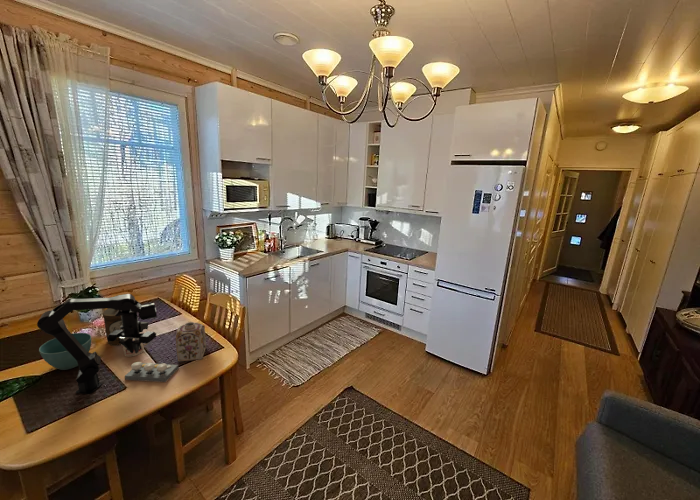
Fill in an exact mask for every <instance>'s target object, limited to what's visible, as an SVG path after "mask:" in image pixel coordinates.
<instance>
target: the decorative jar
mask: <svg viewBox="0 0 700 500" xmlns="http://www.w3.org/2000/svg"><path fill="white" fill-rule="evenodd" d="M206 341H207V338H206V329H205V325H203V324H202V323H199V322H193V321H190V322H189V321H188V322H186V323H184V324H183V325H180V326H179V327H178V328H177V330H176V334H175V348H176V356H177V362H179V363H180V362H188V361H197V360H203V357H204V354H205V351H206V349H207V342H206Z"/></svg>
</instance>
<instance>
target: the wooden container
mask: <svg viewBox="0 0 700 500" xmlns="http://www.w3.org/2000/svg"><path fill="white" fill-rule="evenodd" d="M117 311H118V310H115V309H109V308H106V309H105V310H104V311H103V312H102V316H103V321H104V329H105V336H106V342H107V344H108V345H110V346H115V347H116V346H123V345H122V344H121V343H119V341H120V339H119V337H116V340H115V341H108V335H109V334H111V333H112V332H114V331H115V330H123V329H121V328H120V327H121V326H123V325H122V319H121V316H115V314H116V312H117Z"/></svg>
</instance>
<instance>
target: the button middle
mask: <svg viewBox="0 0 700 500" xmlns="http://www.w3.org/2000/svg"><path fill="white" fill-rule="evenodd" d="M146 363H147V364H145V365H144V370H145V371H148V373H151V372H152V370H153V369H154V368H155V366H154V364H155V363H154V362H146Z"/></svg>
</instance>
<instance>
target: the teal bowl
mask: <svg viewBox="0 0 700 500" xmlns="http://www.w3.org/2000/svg"><path fill="white" fill-rule="evenodd" d="M71 334H72V335H73V336H74V337H75V338H76V339H77V340H78V342H79V343H80V344H81V345H82V346H83V347H84V348H85V349H86V351H87V352H89V353H90V351H91V346H92V335H91V334H90V333H87V332H74V333H71ZM38 352H39V354H40V356H41V357H42V359H43V361H45V362H46V363H47V364H48V365H50V366H51V367H52V368H55V369H58V370H62V371H63V370H64V371H65V370H66V371H67V370H72V369H73V368H76V367H79V366H78V363H77V361H76V359H75V358H74V357H73V356H72V355H71V354H70V353H69V352H68V351H67V350H66V349H65V348H64V347H63V345H62V344H61V343H60V342H59V341H58V340H57V339H56V338H55V337H54V338H53V339H52V338H51V339H50V340H47V341H46V342H45V343H43V344H42V345H40V347H39V349H38Z"/></svg>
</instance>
